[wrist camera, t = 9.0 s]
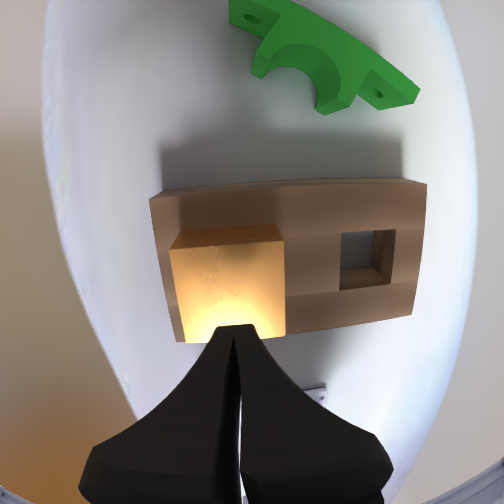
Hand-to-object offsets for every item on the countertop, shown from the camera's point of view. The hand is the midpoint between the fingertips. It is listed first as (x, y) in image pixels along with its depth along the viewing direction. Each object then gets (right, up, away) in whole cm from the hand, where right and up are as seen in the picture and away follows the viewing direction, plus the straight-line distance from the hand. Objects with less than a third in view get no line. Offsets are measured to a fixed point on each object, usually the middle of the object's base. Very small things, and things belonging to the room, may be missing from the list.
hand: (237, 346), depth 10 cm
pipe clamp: (+4, +15, +5) cm, 16 cm away
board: (+3, +4, +9) cm, 10 cm away
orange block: (-1, +3, +9) cm, 9 cm away
